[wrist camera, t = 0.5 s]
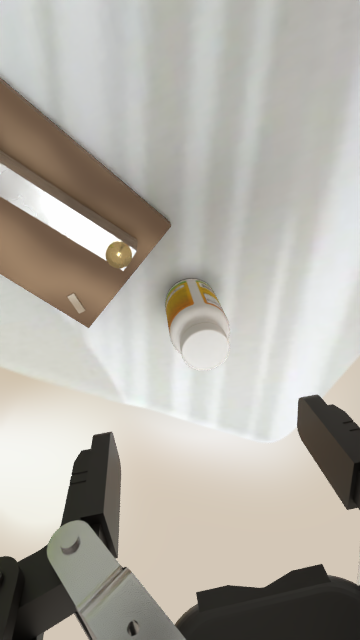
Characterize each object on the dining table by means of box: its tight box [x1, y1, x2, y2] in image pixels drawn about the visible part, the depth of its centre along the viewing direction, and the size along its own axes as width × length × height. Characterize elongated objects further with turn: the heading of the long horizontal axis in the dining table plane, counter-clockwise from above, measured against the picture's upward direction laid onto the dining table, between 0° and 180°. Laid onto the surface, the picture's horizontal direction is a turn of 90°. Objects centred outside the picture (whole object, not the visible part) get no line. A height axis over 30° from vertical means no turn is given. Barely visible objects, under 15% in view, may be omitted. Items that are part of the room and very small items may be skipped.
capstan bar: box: [0, 150, 137, 271], centre depth 24 cm, size 17×5×5 cm, turn 54°
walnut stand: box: [0, 78, 171, 328], centre depth 27 cm, size 13×21×2 cm, turn 49°
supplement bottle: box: [165, 279, 230, 370], centre depth 30 cm, size 5×5×10 cm
